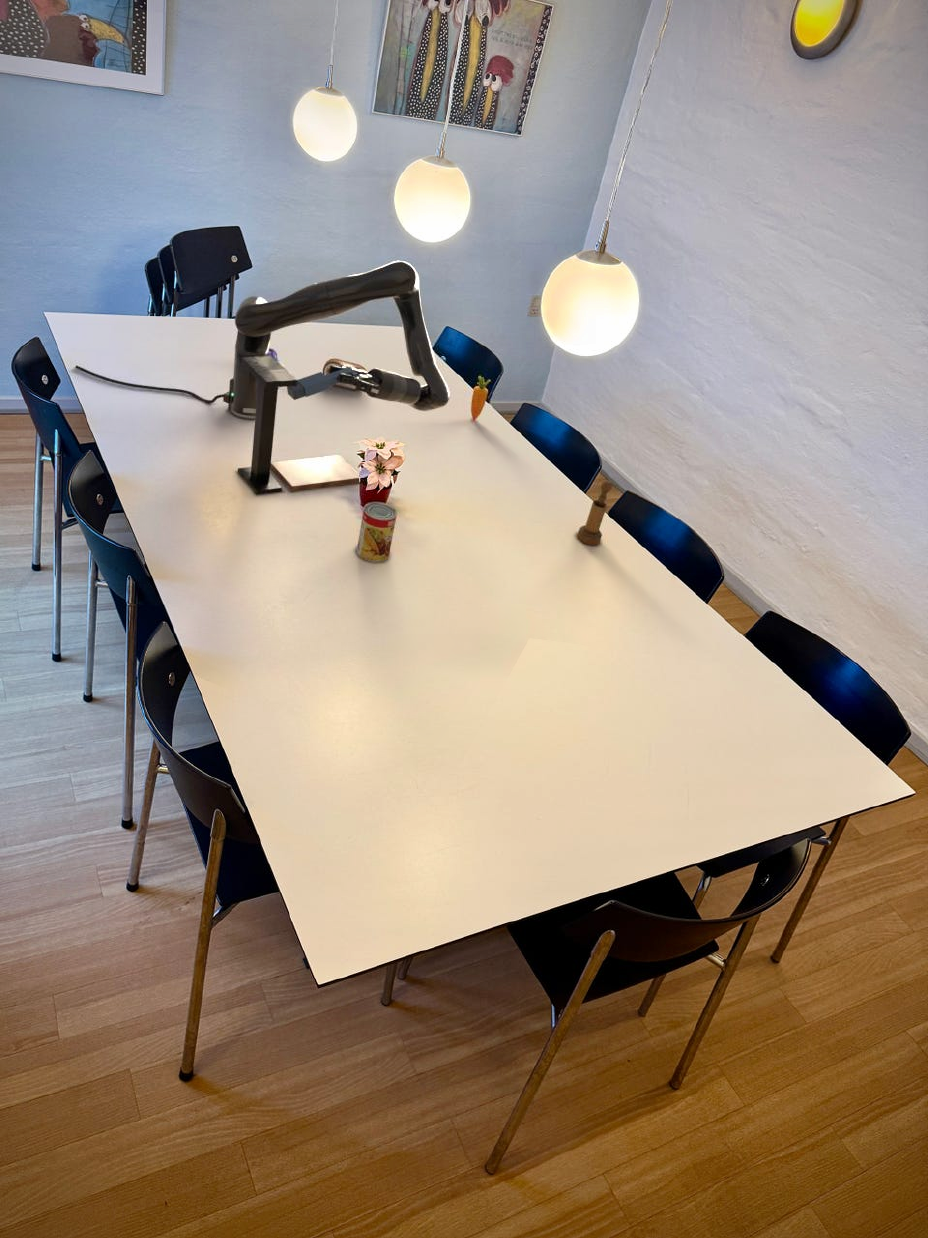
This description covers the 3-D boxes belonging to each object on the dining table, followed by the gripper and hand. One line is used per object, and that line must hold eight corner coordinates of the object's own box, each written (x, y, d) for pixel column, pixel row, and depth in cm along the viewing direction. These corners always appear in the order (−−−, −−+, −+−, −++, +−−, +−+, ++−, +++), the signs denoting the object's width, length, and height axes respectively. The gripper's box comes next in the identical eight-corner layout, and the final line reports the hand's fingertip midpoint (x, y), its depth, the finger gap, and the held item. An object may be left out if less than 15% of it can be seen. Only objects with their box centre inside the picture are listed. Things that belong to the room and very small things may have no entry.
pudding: (272, 357, 298) (273, 342, 295) (291, 371, 291) (293, 356, 288) (240, 360, 290) (241, 344, 287) (259, 375, 284) (261, 359, 281)
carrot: (483, 420, 293) (494, 377, 284) (477, 424, 289) (487, 381, 281) (470, 415, 294) (480, 372, 286) (464, 419, 290) (474, 376, 282)
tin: (367, 390, 292) (370, 366, 287) (365, 394, 290) (368, 369, 285) (322, 379, 292) (325, 355, 287) (320, 382, 289) (323, 358, 284)
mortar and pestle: (575, 530, 245) (594, 473, 235) (597, 534, 247) (617, 477, 236) (579, 543, 240) (598, 485, 230) (601, 547, 241) (622, 489, 231)
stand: (262, 467, 236) (272, 356, 219) (285, 493, 228) (297, 380, 210) (234, 470, 232) (241, 357, 214) (256, 497, 224) (266, 381, 206)
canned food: (391, 562, 213) (400, 520, 206) (359, 561, 210) (367, 518, 203) (385, 544, 219) (393, 502, 212) (354, 543, 216) (361, 501, 209)
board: (338, 460, 249) (339, 455, 248) (361, 482, 241) (362, 477, 241) (270, 467, 237) (270, 462, 236) (291, 491, 230) (292, 486, 229)
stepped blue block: (349, 371, 228) (348, 362, 226) (358, 378, 225) (357, 369, 223) (286, 393, 220) (285, 383, 218) (295, 401, 218) (293, 391, 216)
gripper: (377, 361, 237) (325, 347, 225) (406, 384, 229) (353, 371, 217) (367, 386, 240) (315, 374, 228) (395, 410, 232) (342, 399, 220)
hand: (334, 373), depth 223 cm, fingers closed on stepped blue block, 4 cm apart
